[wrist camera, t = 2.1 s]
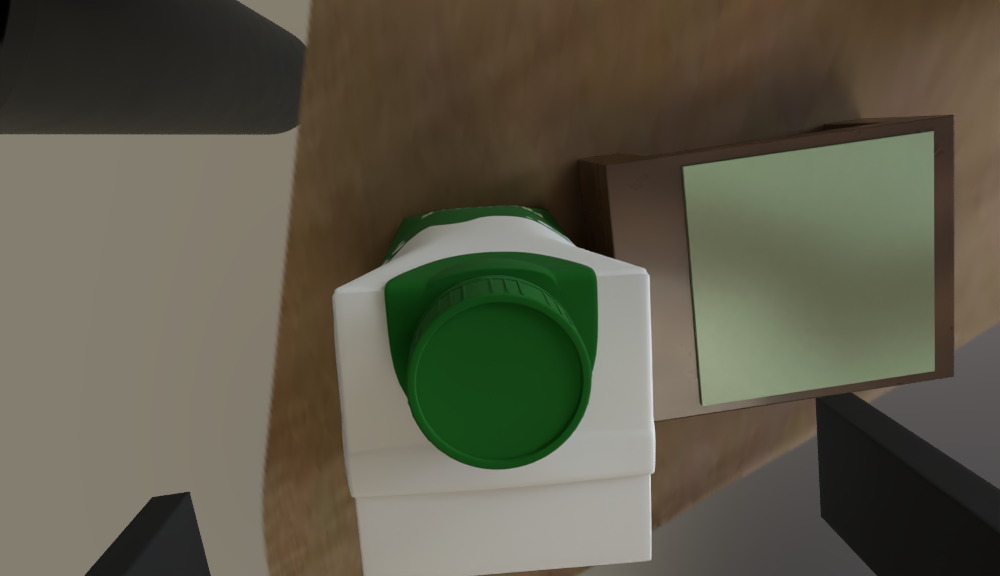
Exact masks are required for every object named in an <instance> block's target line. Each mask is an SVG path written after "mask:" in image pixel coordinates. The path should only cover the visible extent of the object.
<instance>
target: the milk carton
mask: <svg viewBox="0 0 1000 576" xmlns="http://www.w3.org/2000/svg"><path fill="white" fill-rule="evenodd" d="M332 303H333V314H334V341H335V355H336V365H337V375H338V386H339V396H340V406H341V416H342V440H343V451H344V460H345V469H346V475H347V479H348V484H349V489H350V494H351V496H352V497H355V503H356V512H357V521H358V531H359V540H360V549H361V558H362V567H363V575H364V576H474V575H486V574H498V573H509V572H521V571H533V570H545V569H557V568H569V567H581V566H593V565H605V564H617V563H629V562H641V561H649V560H651V474H653V473H654V472H655V426H654V418H653V376H652V339H651V308H650V276H649V274H648V273H647V271H646V269H645V268H642V267H638V266H635V265H632V264H629V263H626V262H622V261H619V260H616V259H613V258H610V257H606V256H603V255H600V254H597V253H594V252H591V251H588V250H585V249H582V248H579V247H576V246H575V245H574V244H573V243H572V241H571V240H570V239H569V237H568V236H567V235H566V234H565V232H564V231H563V230H562V228H561V227H560V226H559V225H558V223H557V222H556V221H555V219H554V218H553V217H552V216H551V214H550V213H549V212H548V210H544V209H537V208H529V207H522V206H487V207H470V208H457V209H445V210H439V211H434V212H430V213H426V214H422V215H418V216H413V217H409V218H405V219H404V220H403V222H402V224H401V226H400V228H399V230H398V232H397V234H396V236H395V238H394V239H393V241H392V243H391V245H390V247H389V249H388V251H387V254H386V256H385V258H384V260H383V262H382V263H381V265H380V267H379V268H377V269H375V270H373V271H371V272H369V273H367V274H365V275H363V276H361V277H359V278H357V279H355V280H353V281H351V282H349V283H347V284H345V285H343V286H341V287H339V288H336V289H335V291H334V294H333V296H332Z"/></svg>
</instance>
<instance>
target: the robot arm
mask: <svg viewBox="0 0 1000 576" xmlns="http://www.w3.org/2000/svg"><path fill="white" fill-rule="evenodd" d="M816 417H817V439H818V461H819V483H820V504H821V505H820V506H821V517H822V518H823V519H824V520H825V521H826V522H827V523H828V524H829V525H830V526H831V528H832V529H833V530H834V531H835V532H837V534H838V535H839V536H840V537H841V538H842V539H843V540H844V541H845V542H846V543H847V544H848V545H849V546H850V548H851V549H852V550H853V551H854V552H855V553H856V554H857V555H858V556H859V557H860V558H861V559H862V560H863V561H864V562H865V563H866V564H867V566H868V567H869V568H870V569H871V570H872V571H873V572H874V573H875V574H876V575H877V576H1000V489H998V488H996V487H995V486H993V485H992V484H990V483H989V482H987V481H986V480H984V479H983V478H981V477H980V476H978V475H977V474H975V473H974V472H972V471H971V470H969V469H967V468H966V467H964V466H963V465H961V464H960V463H958V462H957V461H955V460H954V459H952V458H950V457H949V456H948V455H946V454H945V453H943V452H941V451H940V450H938V449H937V448H935V447H934V446H932V445H931V444H929V443H928V442H926V441H925V440H923V439H921V438H920V437H918V436H917V435H916V434H914V433H913V432H911V431H909V430H908V429H906V428H905V427H903V426H902V425H900V424H899V423H897V422H896V421H894V420H893V419H891V418H890V417H888V416H887V415H885V414H884V413H882V412H880V411H879V410H877V409H876V408H874V407H873V406H871V405H870V404H868V403H867V402H865V401H864V400H862V399H861V398H859V397H858V396H856V395H855V394H853V393H845V394H838V395H831V396H825V397H818V398H816ZM85 576H211V575H210V571H209V567H208V563H207V559H206V556H205V551H204V548H203V543H202V540H201V536H200V532H199V528H198V524H197V520H196V516H195V512H194V508H193V504H192V500H191V496H190V492H184V493H178V494H171V495H164V496H158V497H152V498H151V499H150V500H149V502H148V503H147V504H146V505H145V506H144V507H143V509H142V510H141V511H140V512H139V513H138V514H137V515H136V517H135V518H134V519H133V520H132V521H131V522H130V524H129V525H128V526H127V527H126V528H125V529H124V531H123V532H122V533H121V534H120V535H119V536H118V538H117V539H116V540H115V541H114V542H113V543H112V544H111V546H110V547H109V548H108V549H107V550H106V551H105V552H104V554H103V555H102V556H101V557H100V558H99V559H98V561H97V562H96V563H95V564H94V565H93V566H92V568H91V569H90V570H89V571H88V572H87V573H86V575H85Z"/></svg>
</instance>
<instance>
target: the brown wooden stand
mask: <svg viewBox="0 0 1000 576" xmlns="http://www.w3.org/2000/svg"><path fill="white" fill-rule="evenodd" d="M578 165H579V174H580V183H581V192H582V201H583V210H584V219H585V227H586V236H587V245H588V251H591V252H594V253H597V254H600V255H603V256H606V257H610V258H613V259H616V260H619V261H622V262H626V263H629V264H632V265H635V266H638V267H642V268H645V269H646V271H647V273H648V274H649V276H650V308H651V339H652V376H653V418H654V422H659V421H665V420H672V419H679V418H685V417H692V416H698V415H705V414H712V413H718V412H725V411H731V410H738V409H745V408H751V407H758V406H764V405H771V404H778V403H784V402H791V401H797V400H804V399H811V398H817V397H824V396H830V395H837V394H844V393H850V392H857V391H863V390H870V389H877V388H883V387H890V386H896V385H903V384H910V383H916V382H922V381H929V380H935V379H942V378H949V377H954V115H937V116H913V117H888V118H863V119H856V120H849V121H842V122H835V123H828V124H825V125H824V131H820V132H813V133H806V134H799V135H792V136H784V137H777V138H770V139H763V140H756V141H749V142H742V143H735V144H728V145H721V146H714V147H707V148H700V149H693V150H686V151H679V152H672V153H665V154H658V155H651V156H637V155H628V154H620V153H617V154H609V155H602V156H595V157H588V158H581V159H578Z"/></svg>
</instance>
